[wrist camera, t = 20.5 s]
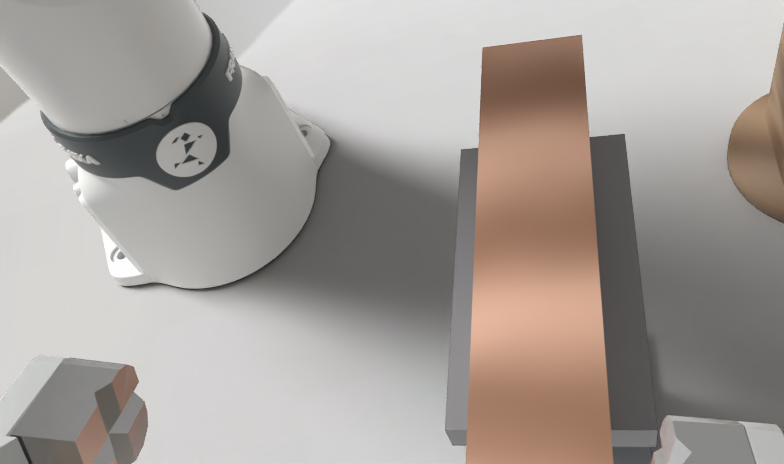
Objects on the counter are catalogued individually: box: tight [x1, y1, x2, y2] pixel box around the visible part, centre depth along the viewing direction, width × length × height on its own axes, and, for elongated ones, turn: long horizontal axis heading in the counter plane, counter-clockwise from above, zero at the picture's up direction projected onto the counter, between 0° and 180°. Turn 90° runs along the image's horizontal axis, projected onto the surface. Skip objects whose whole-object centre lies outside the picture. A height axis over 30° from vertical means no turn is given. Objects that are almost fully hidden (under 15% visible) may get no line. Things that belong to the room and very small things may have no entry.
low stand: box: [445, 134, 658, 464], centre depth 35 cm, size 13×8×15 cm, turn 174°
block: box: [466, 35, 613, 464], centre depth 27 cm, size 19×4×4 cm, turn 174°
